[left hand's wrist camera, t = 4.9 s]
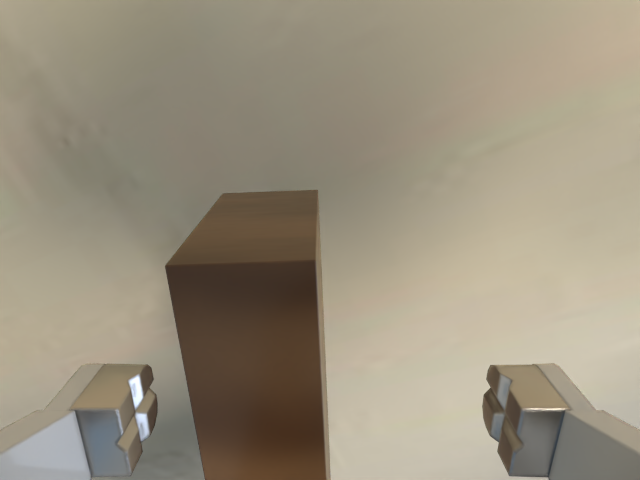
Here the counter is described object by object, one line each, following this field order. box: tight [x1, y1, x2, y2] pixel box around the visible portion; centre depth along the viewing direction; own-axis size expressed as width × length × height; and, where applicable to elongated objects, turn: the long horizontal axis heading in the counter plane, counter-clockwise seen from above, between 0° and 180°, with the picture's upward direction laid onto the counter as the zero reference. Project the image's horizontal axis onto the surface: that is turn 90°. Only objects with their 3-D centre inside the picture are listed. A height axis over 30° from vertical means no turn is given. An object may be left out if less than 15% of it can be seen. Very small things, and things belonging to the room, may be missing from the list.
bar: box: [165, 190, 331, 480], centre depth 23 cm, size 24×5×9 cm, turn 2°
